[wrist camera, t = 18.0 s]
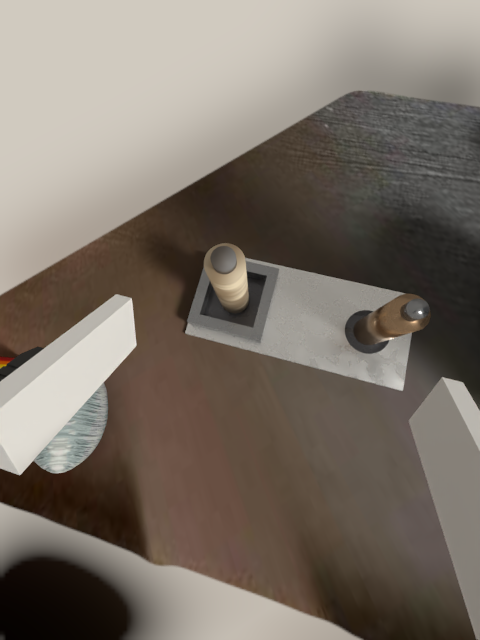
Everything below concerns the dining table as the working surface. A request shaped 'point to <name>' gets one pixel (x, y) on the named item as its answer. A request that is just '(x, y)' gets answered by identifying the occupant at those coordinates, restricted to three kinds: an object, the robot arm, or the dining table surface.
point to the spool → (77, 435)
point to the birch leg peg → (228, 276)
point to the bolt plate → (315, 322)
